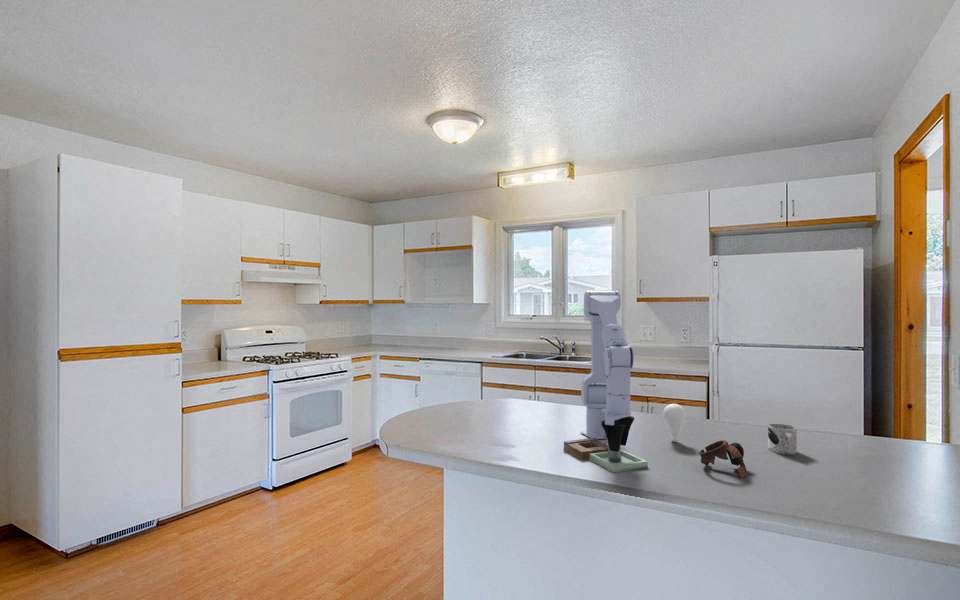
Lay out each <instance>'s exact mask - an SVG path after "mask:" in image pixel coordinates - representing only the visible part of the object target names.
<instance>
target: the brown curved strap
mask: <svg viewBox="0 0 960 600" xmlns="http://www.w3.org/2000/svg"><path fill="white" fill-rule="evenodd" d="M698 454H699V456H700V463H701V464H703V465H704V466H705V467H708V466H709V464H711V465H713V466H714V465H716V464H715V460H716V457H717V459H719V460H720V459H721V460H725V461H727V460H729V461H730V463H731V465H733V466H737V467H738V468H736V471H737V473H738V476H739V478H740V479H743V478H745V477H746V475H747V474H748V470H747V467H746V465H745V462H744V455H745V451H744V448H743V446H742V445H741V444H740V443H739V442H732V443H728V441H727V440H726V439H725V440H717V441H715V442H713V443H710V444H708V445H706V446H705V447H704V448H703V449H701V450H699V452H698Z"/></svg>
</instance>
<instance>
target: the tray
mask: <svg viewBox="0 0 960 600" xmlns="http://www.w3.org/2000/svg"><path fill="white" fill-rule="evenodd" d="M589 460H590V461H592V462H594V463H595V464H597V465H599V466H601V467H603V468H604V469H606V470H608V471H610V472H611V473H619V472H627V471H633V470H640V469H647V468H649V467H648V466H649V464H648V461H647V460H646V459H643V458H641V457H639V456H637V455H635V454H632V453H630V452H628V451H625V450H623V449H621V461H620V462H611V461H609V460H608V451H607V452H599V453H591V454H590V459H589Z"/></svg>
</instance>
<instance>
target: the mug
mask: <svg viewBox="0 0 960 600" xmlns="http://www.w3.org/2000/svg"><path fill="white" fill-rule="evenodd" d="M797 429H798V428H797V427H796V426H794V425H789V424H785V423H769V424H768V425H767V450H768V451H770V452H772V453H775V454H780V455H786V456H787V455H788V456H789V455H793V456H794V455H796V454H797V448H798V447H797V443H798V442H797V438H798V437H797V436H798V435H797V431H798V430H797Z"/></svg>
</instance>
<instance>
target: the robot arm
mask: <svg viewBox="0 0 960 600" xmlns="http://www.w3.org/2000/svg"><path fill="white" fill-rule="evenodd" d="M621 299H622V298H621V293H620V292H619V291H618V290H588V289H587V290H586V291H585V292H584V295H583V315H584V318H586V319H588V320H589V322H590V326H591V327H590V331H591V333H590V335H591V336H590V340H591V341H590V343H591V344H590V345H591V346H590V349H591V350H590V352H591V354H590V355H591V356H590V357H591V358H590V359H591V362H590V363H591V366H590V369H591V372H590V373H589V374H588V375H586V376H585V377H583V379H582V380H581V390H580V394H581V402H582V403H583V404H584V405H585V407H586V410H585V411H586V415H585V416H586V417H585V418H586V421H585V422H586V423H585V424H586V425H585V428H586V430H582V431H580V434H582V435H584V436H586V437H588V438H597V439H598V440H605V439H606V441H607V440H608V444H609V449H610V451H616V452H618V451H619V449H620V447H621V446H624V447H625V446H627V442H628V437H629V433H630V430H631V426H632V424H633V423H634V420H635V417H634V416H631V415H632V412H631V369H632V368H633V367H634V361H635V360H634V359H635V358H634V350H633V347H632V346H631V345H630V343H628V342H627V340H626V336H625V332H624V329H623V327H622V326H621V325H619V324H618V321H617V319H618V318H617V314H618V313H619V310H620V308H621V302H622V301H621ZM604 432H605V433H606V436H607V438H606V437H604Z"/></svg>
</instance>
